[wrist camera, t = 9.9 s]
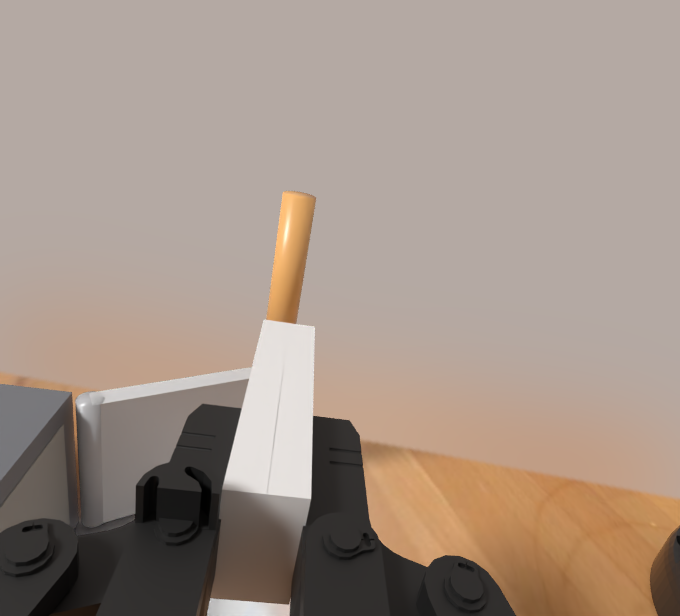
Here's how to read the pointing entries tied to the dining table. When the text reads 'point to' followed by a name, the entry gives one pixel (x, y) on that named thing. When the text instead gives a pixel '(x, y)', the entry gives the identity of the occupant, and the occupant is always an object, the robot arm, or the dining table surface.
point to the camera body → (37, 456)
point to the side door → (174, 393)
